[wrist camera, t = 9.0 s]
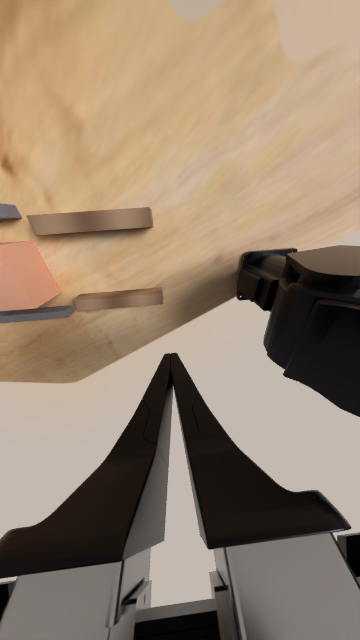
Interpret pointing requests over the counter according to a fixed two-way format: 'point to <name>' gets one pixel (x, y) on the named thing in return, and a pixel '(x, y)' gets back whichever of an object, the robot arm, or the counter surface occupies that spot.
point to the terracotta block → (24, 277)
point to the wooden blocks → (98, 223)
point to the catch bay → (38, 313)
